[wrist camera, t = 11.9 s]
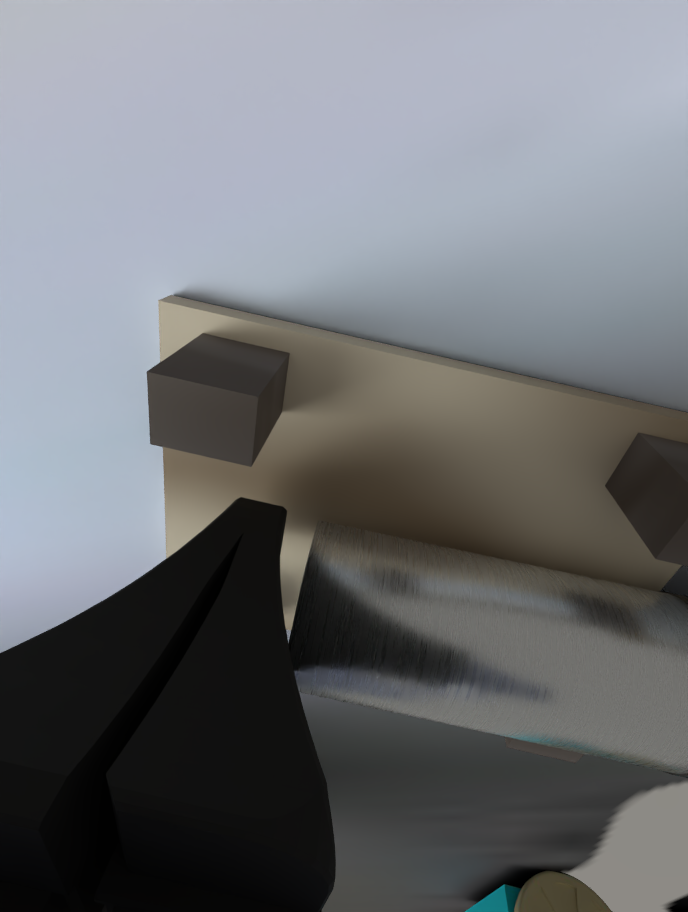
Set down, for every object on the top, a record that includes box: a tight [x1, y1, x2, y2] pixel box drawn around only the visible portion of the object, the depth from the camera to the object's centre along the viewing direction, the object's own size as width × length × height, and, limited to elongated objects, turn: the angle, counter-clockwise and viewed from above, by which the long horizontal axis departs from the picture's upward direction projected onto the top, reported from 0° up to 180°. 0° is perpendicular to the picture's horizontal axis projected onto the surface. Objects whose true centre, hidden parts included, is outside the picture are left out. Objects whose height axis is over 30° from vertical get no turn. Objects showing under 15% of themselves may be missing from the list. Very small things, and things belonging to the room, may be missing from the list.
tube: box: [288, 521, 688, 778], centre depth 11 cm, size 14×4×4 cm
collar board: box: [147, 295, 688, 763], centre depth 11 cm, size 10×14×4 cm
